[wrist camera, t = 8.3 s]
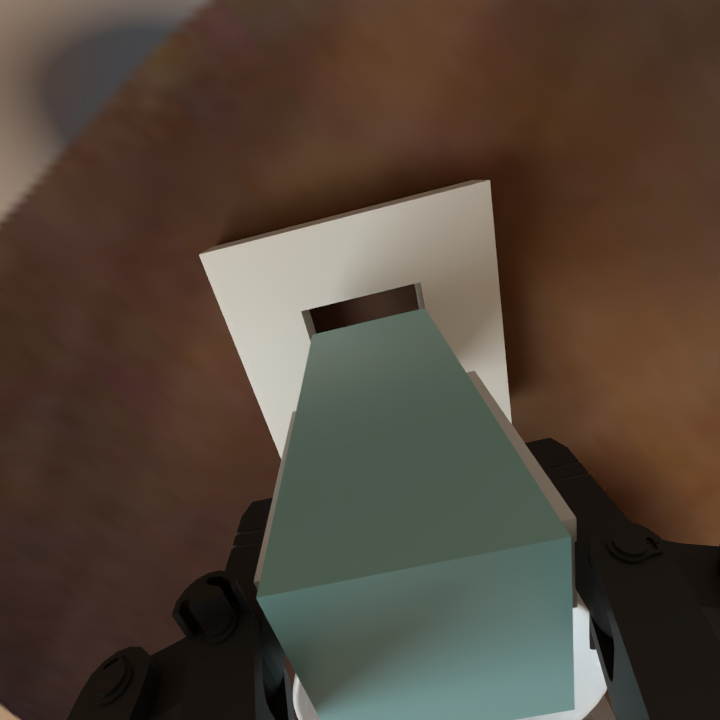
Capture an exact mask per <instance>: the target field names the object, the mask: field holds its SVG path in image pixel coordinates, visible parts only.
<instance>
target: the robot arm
mask: <svg viewBox="0 0 720 720" xmlns="http://www.w3.org/2000/svg"><path fill="white" fill-rule="evenodd" d="M466 373H467V374H468V376H469V378H470V379H471V381H472V382H473V384H474V385H475V387H476V389H477V390H478V392H479V393H480V395H481V396H482V398H483V400H484V401H485V403H486V404H487V406H488V407H489V409H490V410H491V412H492V414H493V415H494V417H495V418H496V420H497V421H498V423H499V425H500V426H501V428H502V429H503V431H504V432H505V434H506V436H507V437H508V439H509V440H510V442H511V443H512V445H513V446H514V448H515V450H516V451H517V453H518V454H519V456H520V457H521V459H522V461H523V462H524V464H525V465H526V467H527V468H528V470H529V472H530V473H531V475H532V476H533V478H534V479H535V481H536V482H537V484H538V486H539V487H540V489H541V490H542V492H543V493H544V495H545V497H546V498H547V500H548V501H549V503H550V504H551V506H552V507H553V509H554V511H555V512H556V514H557V515H558V517H559V518H560V520H561V522H562V523H563V525H564V526H565V528H566V529H567V531H568V533H569V534H570V536H571V554H572V603H573V608H577V607H578V602H577V592H578V594H579V595H580V597H581V599H582V601H583V602H584V604H585V606H586V608H587V609H588V611H589V644H590V649H592V650H596V651H597V654H598V658H599V661H600V665H601V668H602V672H603V676H604V679H605V683H606V686H607V690H608V693H609V697H610V700H611V704H612V707H613V711H614V714H615V718H616V720H720V546H719V547H718V546H706V545H694V544H682V543H675V542H669V541H666V540H662V539H661V538H660V537H659V536H658V535H656V534H655V533H653V532H652V531H650V530H649V529H647V528H645V527H643V526H640V525H638V524H635V523H632V522H630V521H629V520H628V519H627V518H626V517H625V516H624V514H623V513H622V512H621V511H620V510H619V509H618V507H617V506H616V505H615V504H614V503H613V501H612V500H611V499H610V498H609V497H608V495H607V494H606V493H605V492H604V491H603V489H602V488H601V487H600V486H599V485H598V483H597V482H596V481H595V480H594V479H593V478H592V476H591V475H589V474H588V472H587V470H586V469H585V468H584V467H583V466H582V464H579V461H578V460H577V458H576V457H575V456H574V455H573V454H572V453H571V451H570V450H569V449H568V448H567V447H565V446H564V445H562V444H560V443H558V442H557V441H555V440H553V439H552V438H547V439H542V440H538V441H533V442H528V443H524V441H523V440H522V439H521V437H520V436H519V434H518V433H517V431H516V430H515V428H514V427H513V426H512V424H511V423H510V421H509V420H508V418H507V417H506V415H505V414H504V412H503V411H502V410H501V408H500V407H499V405H498V404H497V402H496V401H495V399H494V398H493V397H492V395H491V394H490V392H489V391H488V389H487V388H486V386H485V385H484V383H483V382H482V381H481V379H480V378H479V376H478V375H477V373H476V372H475V371H471V372H466ZM295 414H296V411H293V412H292V416H291V420H290V425H289V429H288V433H287V438H286V442H285V447H284V451H283V455H282V460H281V464H280V468H279V473H278V477H277V482H276V486H275V490H274V495H273V498H269V499H264V500H260V501H255V502H252V503H251V505H250V506H249V508H248V509H247V510H246V512H245V513H244V514H243V516H242V517H241V521H240V524H239V527H238V530H237V536H236V537H235V540H234V543H233V549H232V550H231V553H230V556H229V560H228V563H227V566H226V569H225V571H220V570H219V571H215V572H211V573H207V574H206V575H204V576H202V577H200V578H199V579H197V580H195V581H194V582H193V583H192V584H191V585H190V586H189V587H188V588H187V589H185V590H184V592H183V593H182V595H181V596H180V598H179V599H178V600H177V602H176V604H175V607H174V610H173V613H172V616H173V618H174V619H175V621H176V622H177V623H178V625H179V626H180V628H181V629H182V631H183V632H184V634H185V635H186V637H185V638H183V639H182V640H180V641H178V642H176V643H174V644H172V645H170V646H169V647H167V648H165V649H163V650H161V651H159V652H157V653H155V654H153V655H151V656H150V655H149V654H148V653H147V652H146V651H145V650H144V649H143V648H141V647H128V648H126V649H123V650H121V651H118V652H116V653H115V654H114V655H112V656H111V657H109V658H108V659H107V660H105V661H104V662H103V663H102V664H101V665H100V666H99V667H98V668H97V669H96V670H95V672H94V673H93V674H92V675H91V676H90V678H89V680H88V681H87V683H86V684H85V686H84V687H83V689H82V691H81V693H80V695H79V696H78V698H77V700H76V702H75V704H74V706H73V708H72V710H71V712H70V714H69V716H68V718H67V720H294V713H293V704H292V695H291V686H290V680H289V677H288V674H287V671H286V669H285V667H284V663H285V655H286V654H285V652H284V650H283V648H282V646H281V644H280V642H279V641H278V639H277V637H276V635H275V633H274V631H273V629H272V627H271V625H270V623H269V622H268V620H267V618H266V616H265V614H264V612H263V610H262V608H261V606H260V605H259V603H258V601H257V599H256V596H257V592H258V587H259V582H260V578H261V573H262V568H263V564H264V559H265V554H266V549H267V545H268V540H269V535H270V531H271V526H272V521H273V517H274V512H275V507H276V503H277V498H278V493H279V489H280V484H281V479H282V475H283V470H284V465H285V461H286V456H287V451H288V447H289V442H290V437H291V433H292V428H293V423H294V419H295Z"/></svg>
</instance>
